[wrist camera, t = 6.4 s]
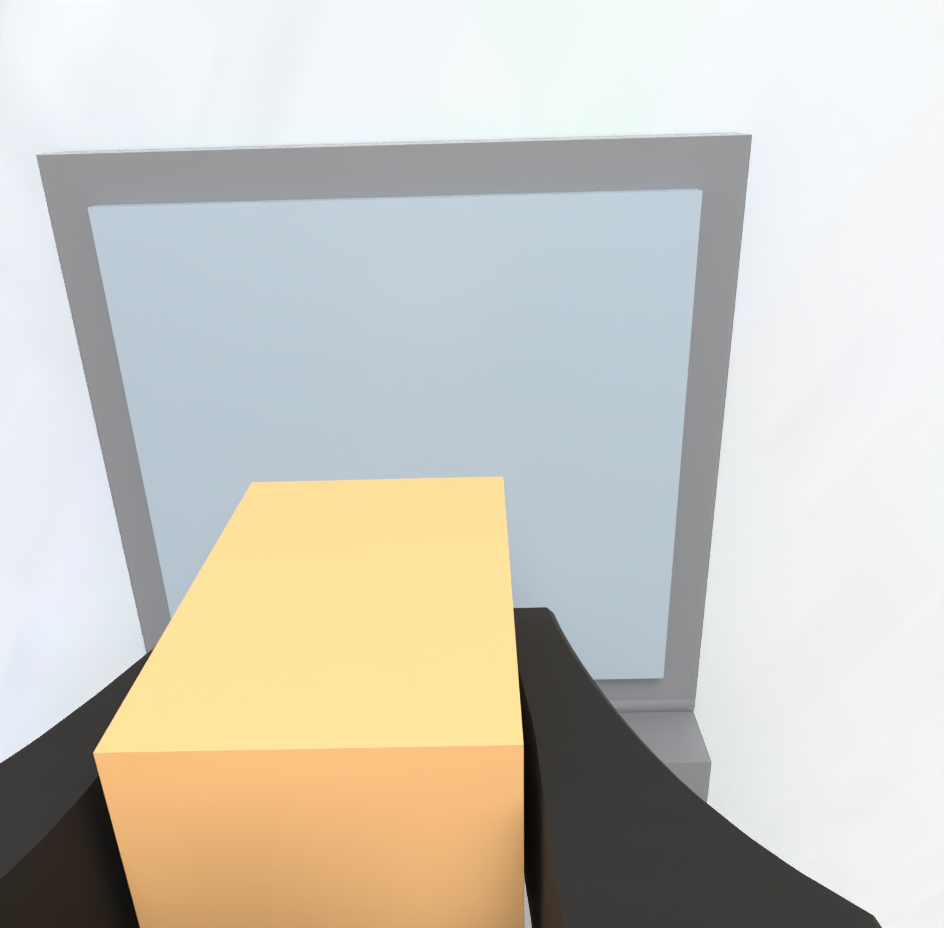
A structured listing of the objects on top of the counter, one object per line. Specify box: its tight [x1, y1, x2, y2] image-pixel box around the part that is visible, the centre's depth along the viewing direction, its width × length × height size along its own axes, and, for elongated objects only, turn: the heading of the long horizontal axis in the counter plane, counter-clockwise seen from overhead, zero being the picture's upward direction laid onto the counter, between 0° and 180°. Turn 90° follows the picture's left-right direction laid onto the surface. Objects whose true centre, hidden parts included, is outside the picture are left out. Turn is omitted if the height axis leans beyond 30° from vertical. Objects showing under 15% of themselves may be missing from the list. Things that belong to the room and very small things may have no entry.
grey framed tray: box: [36, 133, 752, 803], centre depth 22 cm, size 14×28×3 cm, turn 1°
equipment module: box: [93, 477, 524, 928], centre depth 11 cm, size 4×5×6 cm
